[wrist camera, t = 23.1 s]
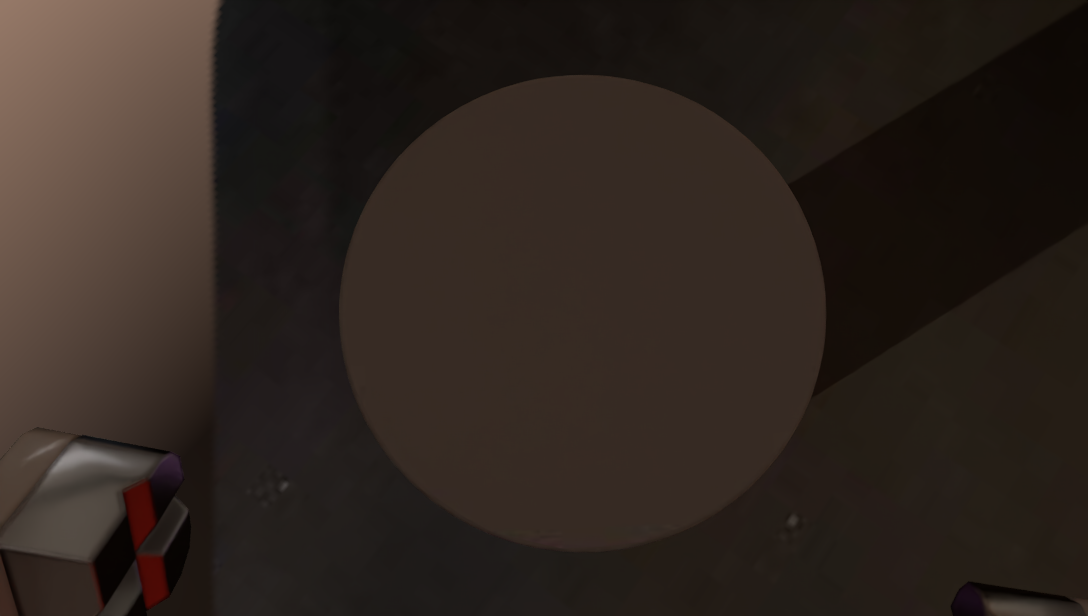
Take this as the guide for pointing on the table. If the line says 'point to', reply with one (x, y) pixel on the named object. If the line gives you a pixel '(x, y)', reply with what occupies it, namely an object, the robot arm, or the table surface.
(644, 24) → the table surface
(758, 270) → the container
